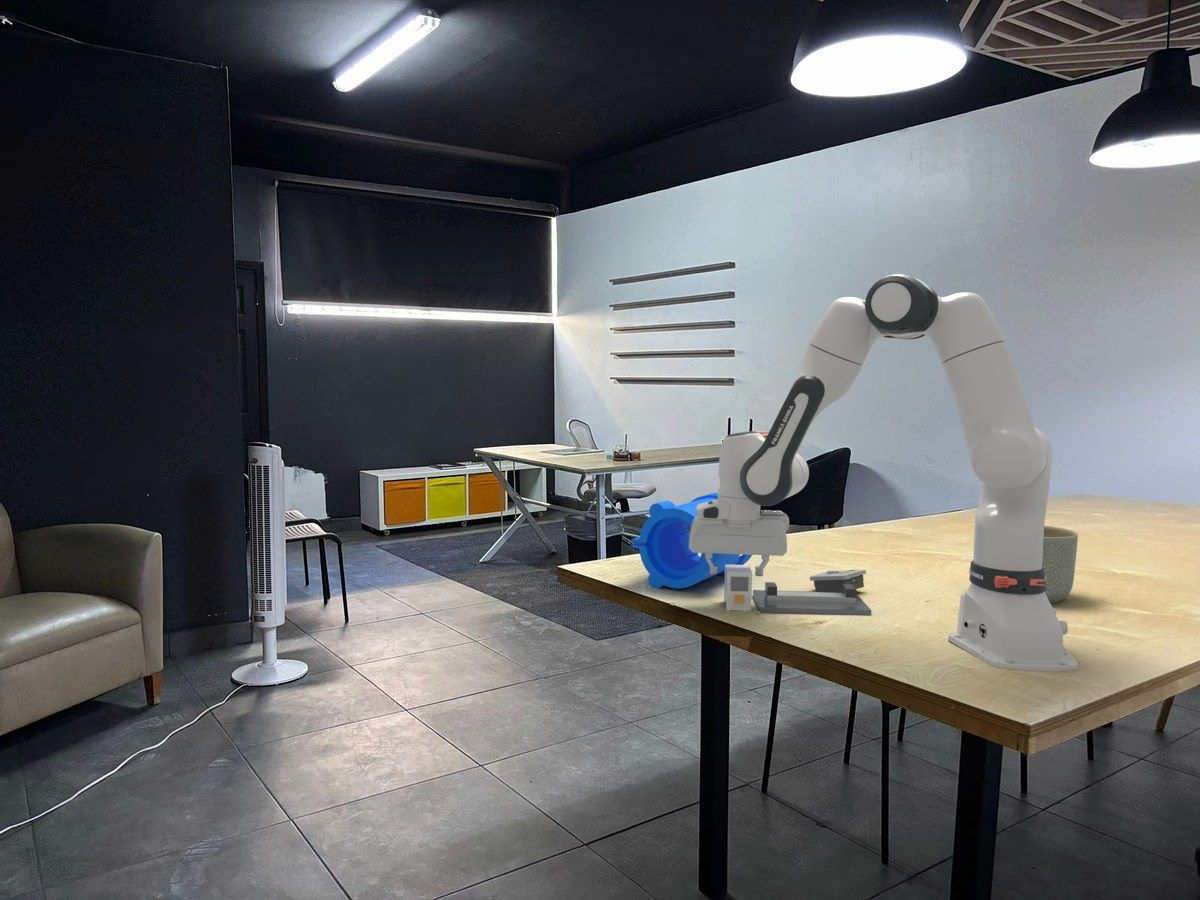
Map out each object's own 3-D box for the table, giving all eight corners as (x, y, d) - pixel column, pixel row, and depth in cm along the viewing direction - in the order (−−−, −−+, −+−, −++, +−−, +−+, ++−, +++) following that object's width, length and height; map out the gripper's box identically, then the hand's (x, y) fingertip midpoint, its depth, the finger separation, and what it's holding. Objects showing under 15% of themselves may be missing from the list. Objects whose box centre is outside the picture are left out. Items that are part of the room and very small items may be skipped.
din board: (871, 617, 171) (872, 595, 171) (759, 614, 173) (760, 592, 173) (855, 599, 185) (856, 579, 185) (752, 596, 187) (753, 576, 186)
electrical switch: (868, 569, 190) (844, 567, 184) (869, 593, 189) (845, 591, 183) (831, 571, 197) (807, 569, 191) (832, 593, 196) (808, 592, 190)
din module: (751, 612, 175) (752, 573, 174) (726, 611, 175) (727, 572, 174) (747, 602, 182) (748, 565, 182) (724, 601, 183) (724, 564, 182)
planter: (1026, 612, 176) (1029, 539, 175) (970, 592, 192) (973, 524, 191) (1092, 607, 181) (1097, 535, 179) (1032, 588, 197) (1036, 522, 196)
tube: (680, 564, 218) (682, 489, 217) (761, 576, 207) (763, 496, 205) (630, 584, 197) (631, 500, 196) (717, 598, 186) (719, 509, 184)
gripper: (787, 508, 180) (784, 573, 181) (689, 505, 181) (687, 569, 183) (791, 513, 174) (788, 580, 175) (690, 510, 175) (688, 576, 176)
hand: (736, 574), depth 179 cm, fingers open, 8 cm apart
